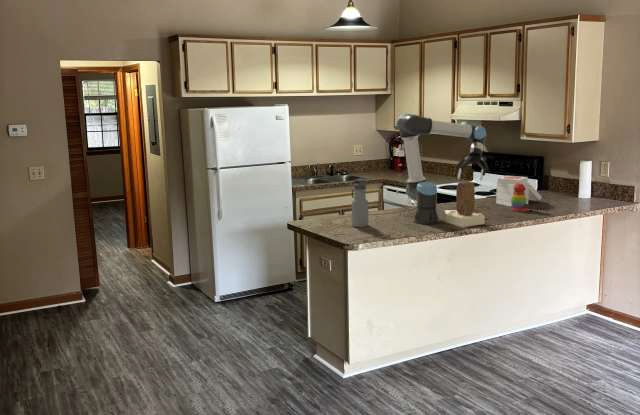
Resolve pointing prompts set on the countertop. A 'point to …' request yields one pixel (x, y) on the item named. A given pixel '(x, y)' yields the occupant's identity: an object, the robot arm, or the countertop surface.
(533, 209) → the countertop surface
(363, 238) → the countertop surface
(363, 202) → the water bottle
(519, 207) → the stacking bear
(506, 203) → the white storage box
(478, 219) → the cream knobbed square piece
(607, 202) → the countertop surface
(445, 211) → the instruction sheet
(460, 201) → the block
